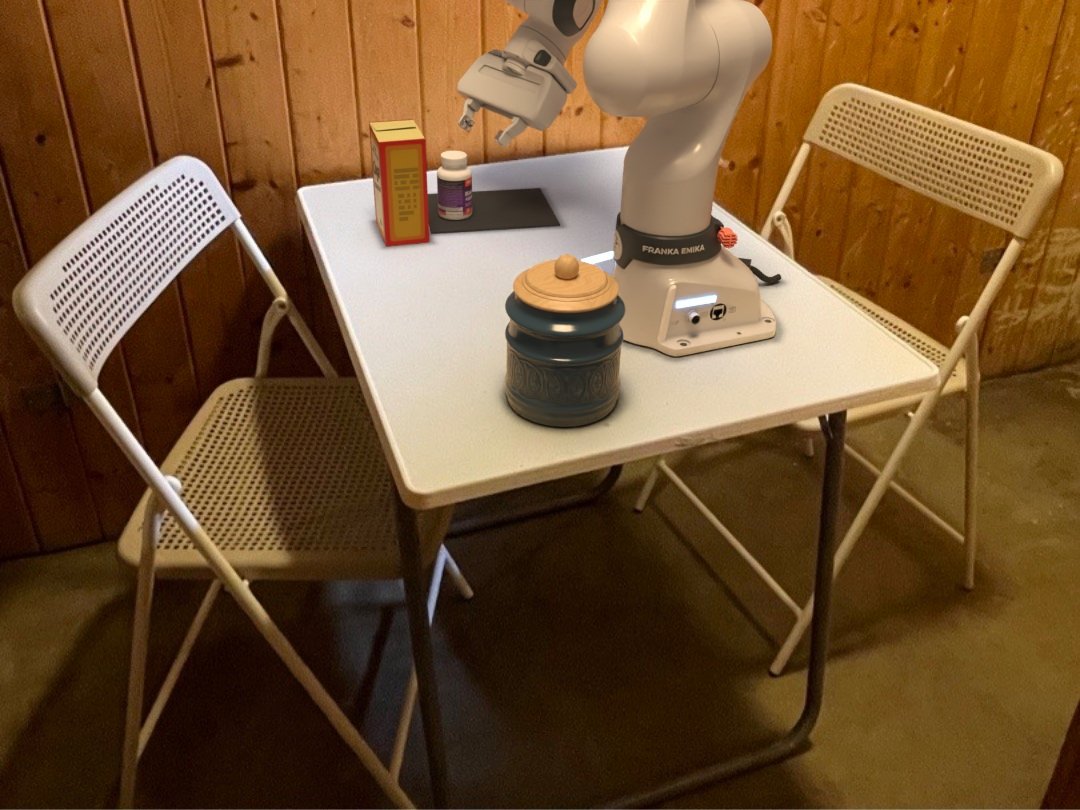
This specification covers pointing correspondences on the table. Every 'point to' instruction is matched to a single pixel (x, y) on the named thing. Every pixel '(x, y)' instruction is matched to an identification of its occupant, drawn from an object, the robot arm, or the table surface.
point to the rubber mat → (497, 212)
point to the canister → (564, 343)
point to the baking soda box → (400, 181)
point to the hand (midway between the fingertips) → (480, 135)
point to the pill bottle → (454, 186)
